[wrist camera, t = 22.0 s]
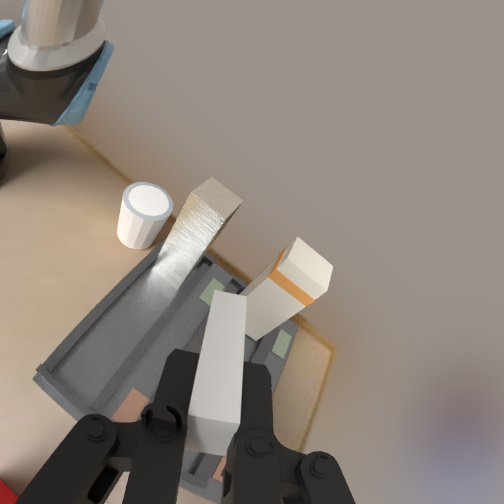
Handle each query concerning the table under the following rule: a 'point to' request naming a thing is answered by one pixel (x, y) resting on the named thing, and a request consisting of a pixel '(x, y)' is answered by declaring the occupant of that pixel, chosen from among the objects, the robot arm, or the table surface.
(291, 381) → the table surface
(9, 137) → the table surface
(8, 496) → the french fries
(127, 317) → the breaker panel
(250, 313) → the handle
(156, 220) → the white short cylinder
